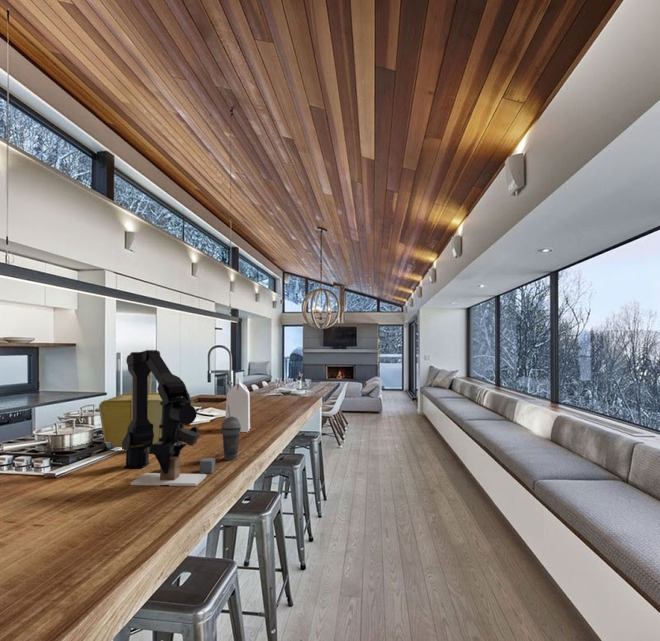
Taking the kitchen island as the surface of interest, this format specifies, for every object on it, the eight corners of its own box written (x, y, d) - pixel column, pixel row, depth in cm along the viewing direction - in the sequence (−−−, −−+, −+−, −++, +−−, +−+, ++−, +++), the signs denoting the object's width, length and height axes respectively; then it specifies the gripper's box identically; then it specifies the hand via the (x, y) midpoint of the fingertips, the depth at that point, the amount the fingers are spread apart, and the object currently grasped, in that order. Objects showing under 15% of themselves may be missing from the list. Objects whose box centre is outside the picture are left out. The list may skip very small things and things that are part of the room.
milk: (227, 428, 232) (228, 377, 233) (250, 428, 233) (250, 377, 234) (224, 432, 220) (225, 378, 221) (248, 432, 221) (249, 378, 222)
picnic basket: (164, 451, 180) (166, 375, 182) (95, 453, 177) (98, 376, 178) (177, 436, 209) (179, 371, 211) (118, 438, 205) (121, 371, 207)
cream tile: (130, 484, 137) (130, 482, 137) (145, 475, 147) (145, 473, 147) (196, 486, 136) (196, 483, 136) (206, 476, 146) (206, 474, 146)
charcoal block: (199, 473, 150) (199, 461, 150) (203, 470, 154) (203, 458, 154) (211, 473, 150) (211, 461, 150) (214, 470, 154) (215, 458, 154)
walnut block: (159, 480, 139) (160, 460, 140) (165, 475, 144) (166, 456, 144) (174, 480, 139) (174, 460, 140) (179, 476, 144) (180, 456, 144)
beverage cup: (235, 462, 165) (236, 406, 166) (217, 460, 166) (218, 405, 167) (243, 457, 172) (244, 404, 173) (225, 456, 173) (226, 403, 174)
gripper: (186, 426, 133) (184, 480, 132) (205, 416, 152) (204, 463, 151) (148, 425, 133) (147, 479, 132) (173, 415, 152) (171, 463, 151)
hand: (169, 470), depth 142 cm, fingers open, 6 cm apart
